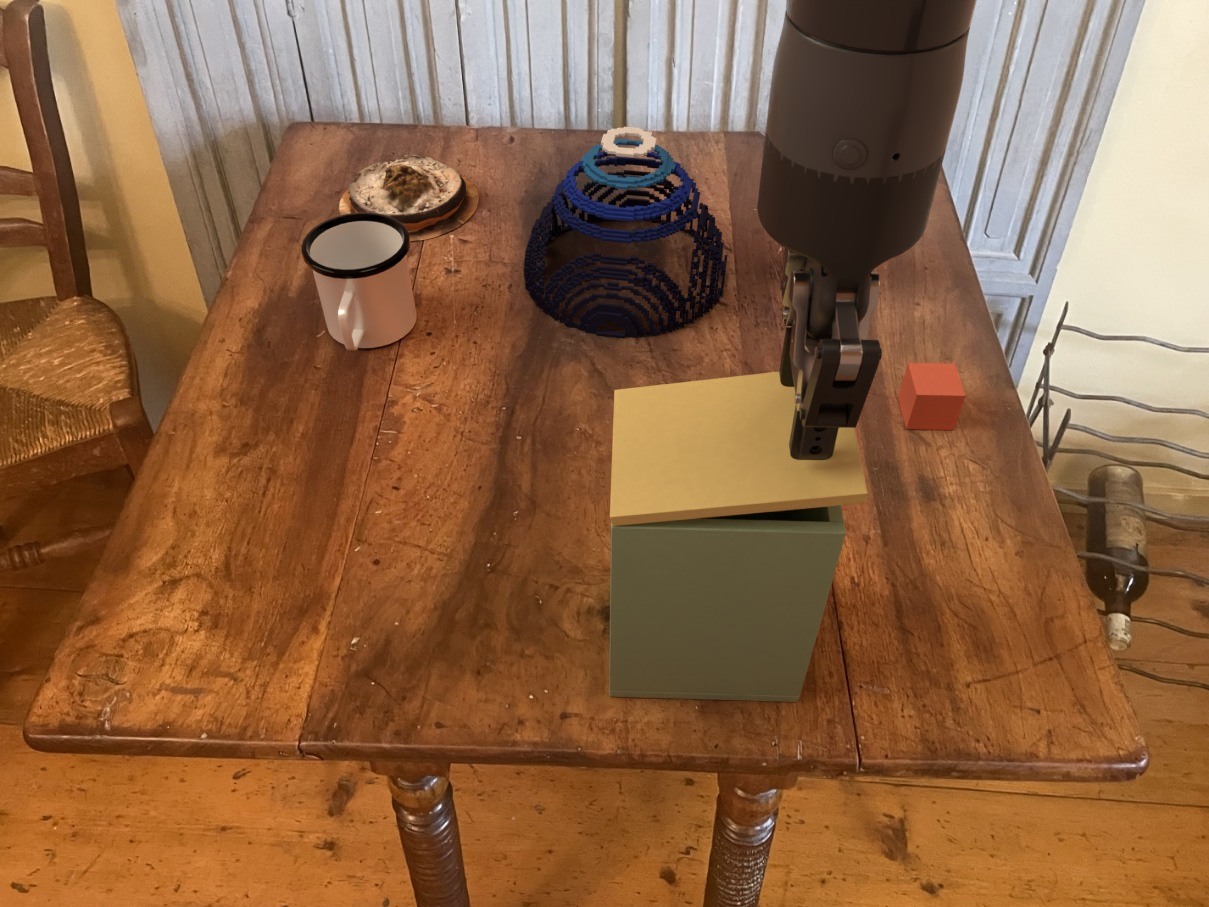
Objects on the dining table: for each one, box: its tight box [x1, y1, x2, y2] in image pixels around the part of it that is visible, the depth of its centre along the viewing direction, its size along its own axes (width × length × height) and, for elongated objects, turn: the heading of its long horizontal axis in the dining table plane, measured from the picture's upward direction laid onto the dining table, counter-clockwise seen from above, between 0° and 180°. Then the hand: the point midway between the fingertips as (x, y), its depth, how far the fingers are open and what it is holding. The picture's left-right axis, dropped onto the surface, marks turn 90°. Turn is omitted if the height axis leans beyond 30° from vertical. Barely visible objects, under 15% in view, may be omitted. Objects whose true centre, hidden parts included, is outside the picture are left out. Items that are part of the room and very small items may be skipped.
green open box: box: [608, 505, 847, 703], centre depth 63 cm, size 13×10×18 cm
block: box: [897, 362, 967, 431], centre depth 83 cm, size 4×4×4 cm
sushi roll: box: [338, 153, 480, 242], centre depth 106 cm, size 15×15×4 cm
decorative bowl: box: [523, 126, 728, 339], centre depth 93 cm, size 20×20×14 cm
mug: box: [300, 212, 418, 351], centre depth 89 cm, size 12×10×9 cm
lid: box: [609, 339, 869, 526], centre depth 53 cm, size 13×10×5 cm
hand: (804, 416), depth 53 cm, fingers closed on lid, 5 cm apart
